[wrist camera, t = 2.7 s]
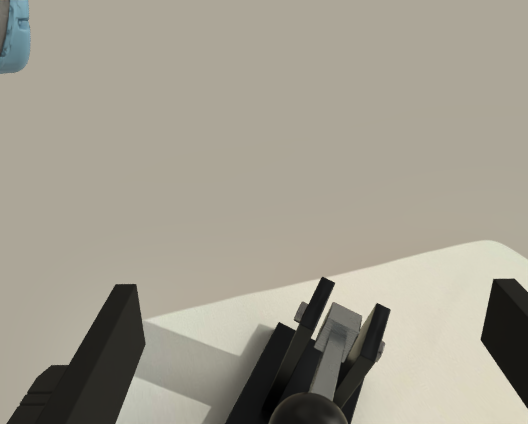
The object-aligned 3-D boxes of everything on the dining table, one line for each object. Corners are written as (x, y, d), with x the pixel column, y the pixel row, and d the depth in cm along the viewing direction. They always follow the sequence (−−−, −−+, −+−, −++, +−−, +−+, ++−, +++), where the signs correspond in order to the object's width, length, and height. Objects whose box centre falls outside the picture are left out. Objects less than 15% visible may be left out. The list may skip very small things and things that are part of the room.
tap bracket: (321, 509, 32) (394, 439, 23) (214, 445, 34) (242, 357, 25) (362, 374, 41) (428, 283, 32) (276, 329, 43) (314, 230, 33)
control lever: (324, 524, 17) (362, 456, 16) (243, 476, 18) (276, 408, 17) (354, 356, 31) (376, 313, 30) (307, 332, 32) (327, 289, 31)
